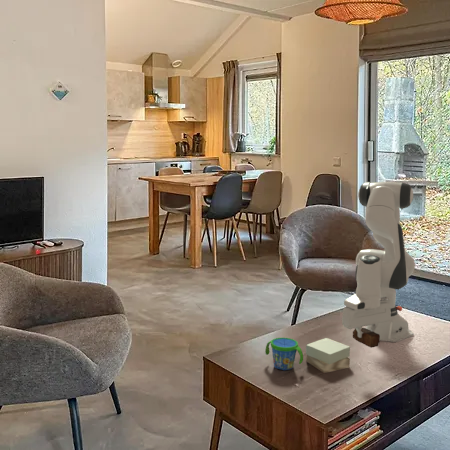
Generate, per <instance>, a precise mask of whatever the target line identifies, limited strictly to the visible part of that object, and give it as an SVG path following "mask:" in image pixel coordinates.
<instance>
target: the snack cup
mask: <svg viewBox="0 0 450 450" xmlns="http://www.w3.org/2000/svg"><path fill="white" fill-rule="evenodd" d="M270 347H271V351H272V361H273V366H274V368H275V369H278V370H282V371H284V372H285V371H289V370H292V369H293V367H294V365H295V361H296V355H297V352H298V354H299V361H298V362H299V363H298V364H299V365H301V364H302V363H303V361H304V354H303V350H302V348H301V347H300V346H299V342H298V341H297V340H295V339H293V338H289V337H276V338H273V339H272V340H269V341H268V342H267V343H266V345H265V355H267V356H269V354H270V353H271V351H270Z"/></svg>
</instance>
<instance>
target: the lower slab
mask: <svg viewBox="0 0 450 450" xmlns="http://www.w3.org/2000/svg"><path fill="white" fill-rule="evenodd" d="M305 357H306V358H305V359H306V360H305V362H307V364H310V365H311V366H313V367H314V368H315V369H317V370H319V371H320V372H322V373H323V374H325V373H326V374H327V373H330V372H331V373H332V372H335V371H340V370H344V369H348V368H350V366H351V365H350V362H351V358H350V357H347V358H344V359H342V360H339V361H337V362H334V363H332V364H327V363H325V362H323V361H320V360H318V359H316V358H313V357H311V356H309V355H306V356H305Z"/></svg>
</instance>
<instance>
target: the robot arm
mask: <svg viewBox="0 0 450 450" xmlns="http://www.w3.org/2000/svg"><path fill="white" fill-rule="evenodd" d="M357 197H358V201H359V204H360V205H361V206H363V207H366V209H365V216H364V217H365V224H366V226H367V228H368V229H369V230H370V231H371V232H372V236H373V238H374V240H375V241H376V242H377V243H378V244H380V245H381V246H382V247H383V250H382V249H373V248H368V249H362V250H359V252H358V253H357V254H356V257H355V264H356V266H355V275H354V276H355V281H356V283H357V287H356V289H355V293H354V294H353V295H351V296H350V297H348V298H346V299H344V301H343V304H344V308H343V310H342V311H343V312H342V318H341V319H342V320H341V322H342V325H343V327H344V328H346V329H348V330H352V329H355V328H356V330H357V332H358V337H359V338H362V337H364V333H363V332H362V331H361V329H362V328H364V327H365V328H366V329H368V330H370V331H373V332H375V333H377V334H379V335H380V338H379V339H380V342H381V341H382V342H389V343H390V342H391V343H397V342H400V341H402V340H406V339H407V338H410V337H414V336H415V333H414V331H412V330H411V329H409V322H408V320H406V319H405V318H404V317H403V316H401V315H400V314H399V312H402V311H403V307H402V306H400V305H396V299H397V298H396V297H397V296H396V295H397V291H398V290H401V289H402V288H404V287H405V286H406V285H407V284H408V281H409V277H411V276H412V275H413V273H414V272H415V268H416V264H415V259H414V258H413V256H412V255H410V254H409V253H408V252H407V250H406V249H405V240H404V232H403V231H404V230H403V228H402V225H401V224H400V219H401V213H400V212H401V211H402V210H404V209H406V208H408V207H410V206H411V205H412V202H413V200H414V191H413V188H412V186H411V184H409V183H405V182H395V181H377V182H371V181H367V182H364V183H362V184H361V185H360V187H359V189H358V192H357ZM400 209H401V210H400ZM396 290H397V291H396ZM398 311H399V312H398Z"/></svg>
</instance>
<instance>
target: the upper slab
mask: <svg viewBox="0 0 450 450" xmlns="http://www.w3.org/2000/svg"><path fill="white" fill-rule="evenodd" d="M350 353H351V346H349V345H346V344H344V343H341V342H339V341H335V340H333V339H331V338H328V337H325V338H322V339H319V340H315V341H313V342H311V343H308V344H306V345H305V354H306V355H309V356H311V357H313V358H316V359H318V360H320V361H323V362H325V363H327V364H332V363H334V362H337V361H339V360H342V359H344V358H347V357H348V358H350Z"/></svg>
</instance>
